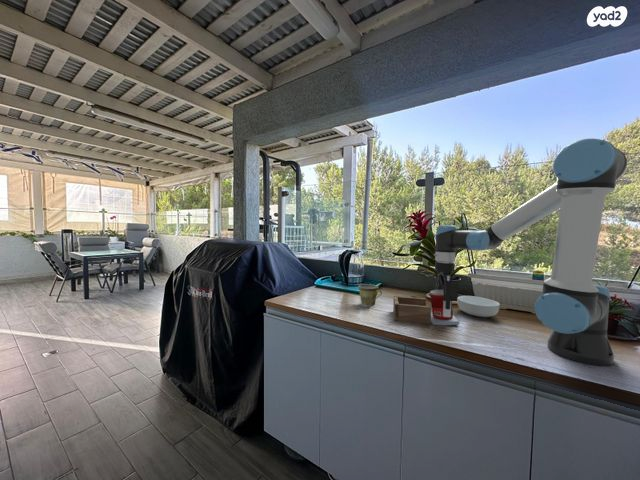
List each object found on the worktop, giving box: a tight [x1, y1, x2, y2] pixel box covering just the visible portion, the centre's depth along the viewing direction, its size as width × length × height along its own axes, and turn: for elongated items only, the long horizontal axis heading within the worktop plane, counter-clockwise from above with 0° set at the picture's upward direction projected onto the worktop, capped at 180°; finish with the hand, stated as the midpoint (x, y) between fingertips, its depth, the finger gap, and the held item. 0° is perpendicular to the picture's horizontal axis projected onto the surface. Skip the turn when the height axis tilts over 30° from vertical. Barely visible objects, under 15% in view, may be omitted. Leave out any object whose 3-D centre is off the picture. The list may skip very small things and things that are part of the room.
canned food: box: [429, 289, 454, 320], centre depth 110 cm, size 8×8×11 cm
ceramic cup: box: [358, 283, 383, 308], centre depth 132 cm, size 13×10×10 cm
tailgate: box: [431, 312, 460, 326], centre depth 111 cm, size 12×10×1 cm
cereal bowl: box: [456, 295, 501, 318], centre depth 120 cm, size 17×17×7 cm
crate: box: [392, 295, 434, 326], centre depth 113 cm, size 14×15×8 cm
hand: (442, 311), depth 110 cm, fingers open, 13 cm apart
